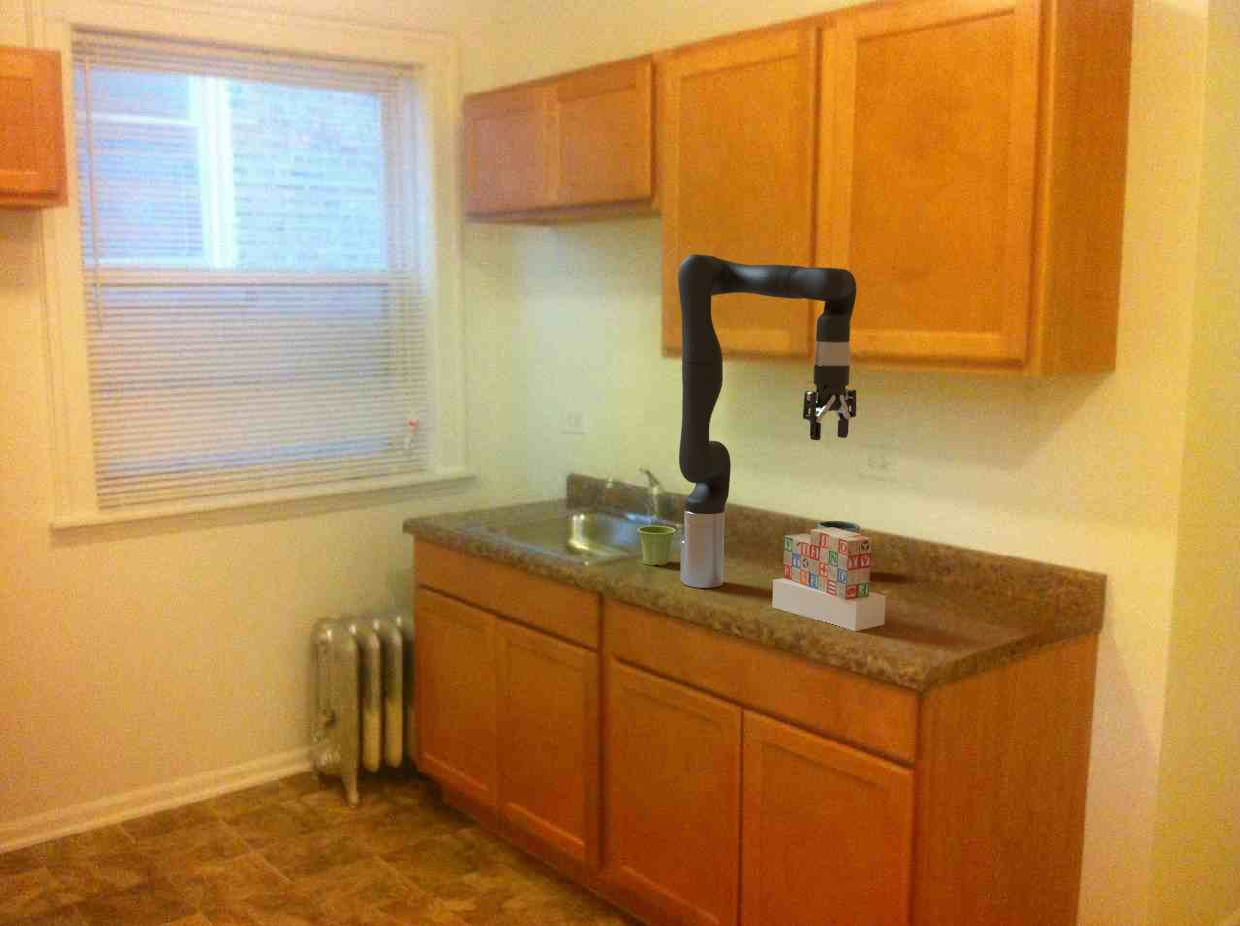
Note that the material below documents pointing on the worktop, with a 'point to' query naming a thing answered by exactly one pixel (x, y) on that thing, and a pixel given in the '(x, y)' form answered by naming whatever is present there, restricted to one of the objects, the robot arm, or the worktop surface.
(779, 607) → the block
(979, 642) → the worktop surface
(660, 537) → the plant pot
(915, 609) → the worktop surface
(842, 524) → the blue cup
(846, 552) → the stack of blocks
